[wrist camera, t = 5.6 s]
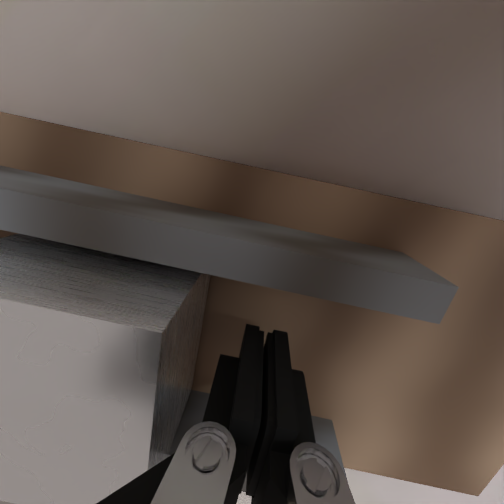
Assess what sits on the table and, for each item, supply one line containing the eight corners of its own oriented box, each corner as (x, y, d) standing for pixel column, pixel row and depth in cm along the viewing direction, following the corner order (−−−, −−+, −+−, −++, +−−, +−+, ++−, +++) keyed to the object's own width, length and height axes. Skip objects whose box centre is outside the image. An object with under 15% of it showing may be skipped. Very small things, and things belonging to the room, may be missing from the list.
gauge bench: (613, 244, 10) (1351, 404, 3) (458, 464, 15) (631, 735, 8) (-163, 76, 10) (-1099, -126, 3) (-86, 348, 15) (-412, 512, 8)
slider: (213, 254, 10) (161, 333, 5) (184, 433, 13) (135, 584, 8) (-11, 205, 10) (-273, 239, 5) (14, 397, 13) (-132, 527, 8)
